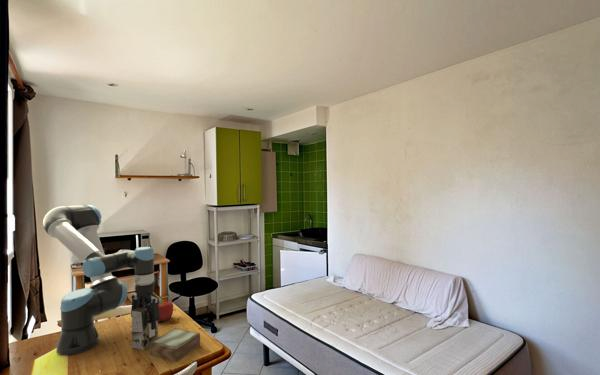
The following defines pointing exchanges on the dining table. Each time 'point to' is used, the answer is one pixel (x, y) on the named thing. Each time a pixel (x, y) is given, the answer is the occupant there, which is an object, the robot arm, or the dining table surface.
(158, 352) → the brown and green tray
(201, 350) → the dining table surface
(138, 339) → the coffee box
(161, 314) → the vegetable
